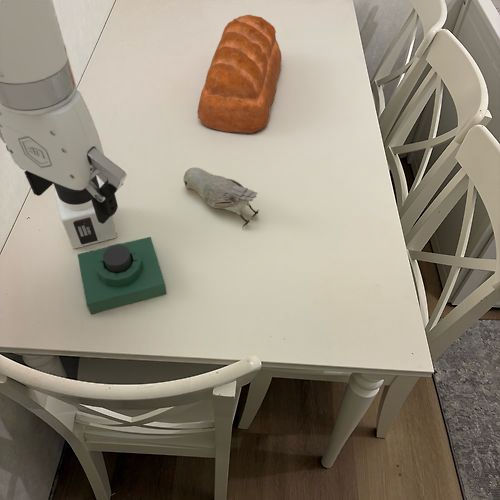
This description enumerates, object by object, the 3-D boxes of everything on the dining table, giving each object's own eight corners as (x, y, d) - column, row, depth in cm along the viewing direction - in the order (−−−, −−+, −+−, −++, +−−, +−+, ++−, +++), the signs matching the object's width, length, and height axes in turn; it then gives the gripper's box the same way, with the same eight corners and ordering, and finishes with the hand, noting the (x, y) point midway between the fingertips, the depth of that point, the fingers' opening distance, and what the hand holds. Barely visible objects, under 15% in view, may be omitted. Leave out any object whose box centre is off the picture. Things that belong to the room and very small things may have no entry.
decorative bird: (195, 178, 94) (193, 149, 88) (263, 216, 89) (265, 187, 83) (177, 194, 92) (173, 164, 86) (246, 234, 86) (247, 205, 80)
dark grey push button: (107, 276, 74) (105, 268, 72) (103, 256, 76) (101, 248, 75) (134, 269, 75) (132, 261, 73) (128, 250, 77) (126, 242, 76)
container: (117, 238, 84) (103, 184, 74) (72, 250, 82) (51, 196, 72) (108, 207, 89) (93, 152, 78) (65, 218, 87) (44, 163, 77)
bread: (283, 59, 122) (289, 7, 112) (264, 138, 103) (269, 83, 92) (222, 51, 123) (222, -2, 113) (193, 128, 104) (189, 72, 93)
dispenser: (90, 314, 75) (83, 297, 71) (81, 264, 81) (74, 246, 77) (166, 294, 78) (163, 276, 74) (152, 247, 84) (149, 228, 80)
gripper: (-65, 73, 47) (0, 197, 60) (80, 128, 42) (115, 248, 56) (-8, 37, 51) (41, 161, 64) (130, 85, 47) (151, 206, 60)
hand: (76, 201), depth 60 cm, fingers open, 9 cm apart
